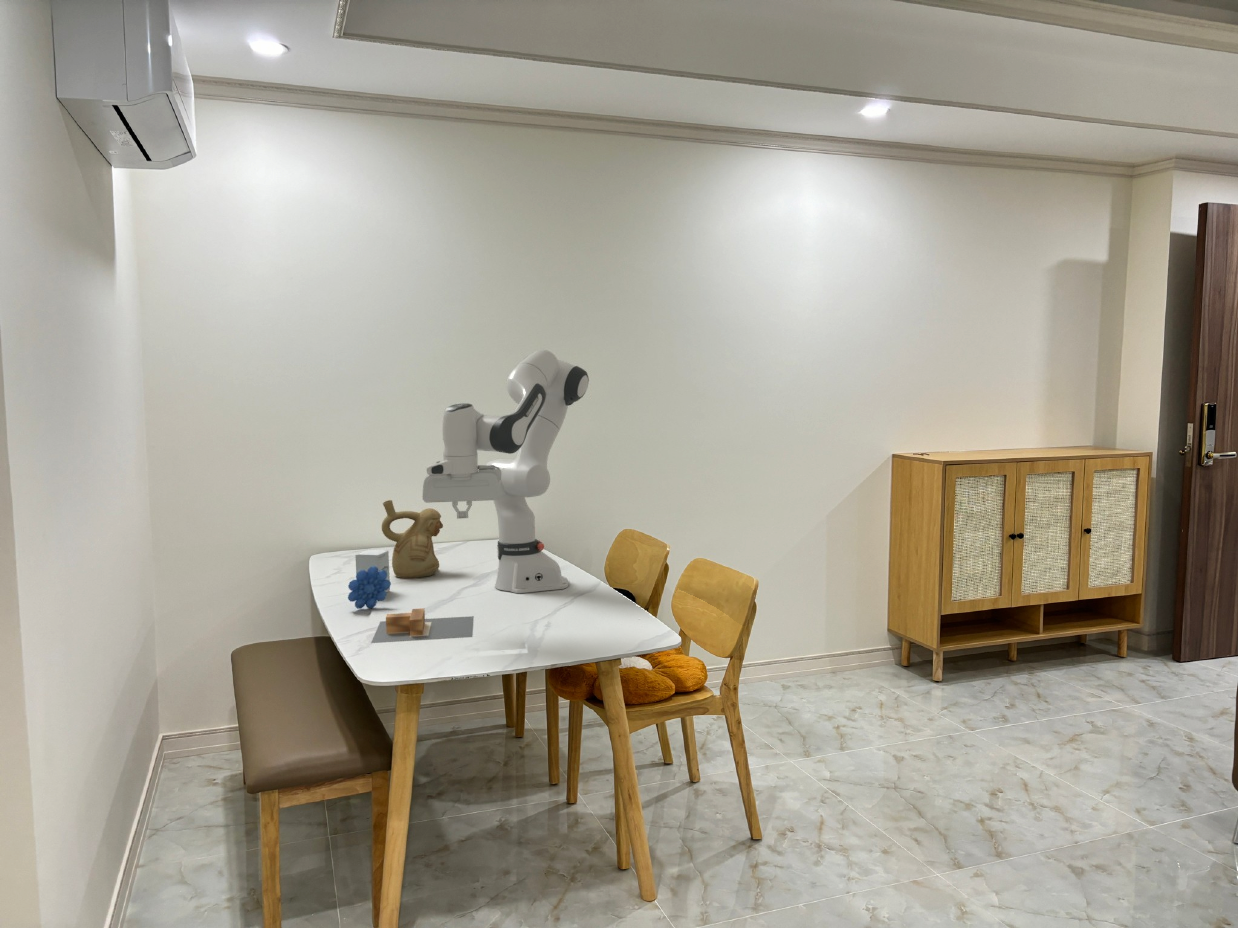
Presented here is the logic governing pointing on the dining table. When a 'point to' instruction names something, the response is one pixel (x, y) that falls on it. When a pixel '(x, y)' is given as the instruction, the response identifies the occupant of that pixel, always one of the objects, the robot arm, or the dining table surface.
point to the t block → (406, 622)
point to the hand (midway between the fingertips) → (462, 518)
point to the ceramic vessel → (413, 542)
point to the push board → (430, 630)
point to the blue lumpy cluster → (368, 587)
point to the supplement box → (373, 561)
